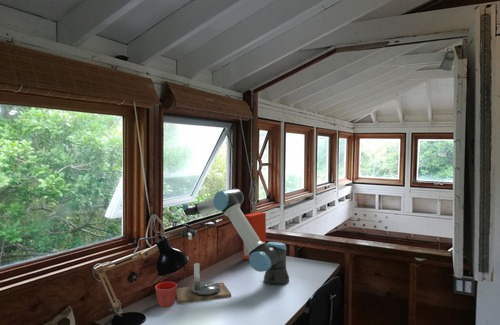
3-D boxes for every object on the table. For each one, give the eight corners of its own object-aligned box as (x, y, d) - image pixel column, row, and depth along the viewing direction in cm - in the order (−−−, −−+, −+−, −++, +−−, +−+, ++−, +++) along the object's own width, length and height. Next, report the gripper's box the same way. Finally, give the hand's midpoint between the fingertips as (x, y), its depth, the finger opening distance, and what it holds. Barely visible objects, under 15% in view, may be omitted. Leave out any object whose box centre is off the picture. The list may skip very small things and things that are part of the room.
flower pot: (172, 309, 183) (171, 289, 183) (151, 307, 185) (151, 288, 185) (180, 300, 193) (180, 282, 193) (161, 299, 195) (160, 281, 195)
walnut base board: (223, 285, 215) (223, 282, 215) (231, 296, 198) (231, 293, 198) (174, 291, 206) (174, 288, 206) (178, 303, 189) (178, 300, 189)
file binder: (242, 259, 265) (242, 215, 264) (257, 253, 279) (257, 212, 277) (251, 261, 260) (251, 216, 259) (266, 255, 273) (265, 213, 272)
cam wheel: (211, 281, 216) (211, 254, 215) (229, 288, 204) (229, 260, 204) (185, 290, 203) (185, 261, 202) (203, 298, 191) (203, 268, 191)
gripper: (195, 234, 239) (201, 242, 217) (174, 236, 235) (179, 244, 213) (194, 222, 239) (201, 230, 216) (174, 224, 235) (179, 232, 212)
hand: (190, 237), depth 215 cm, fingers closed
